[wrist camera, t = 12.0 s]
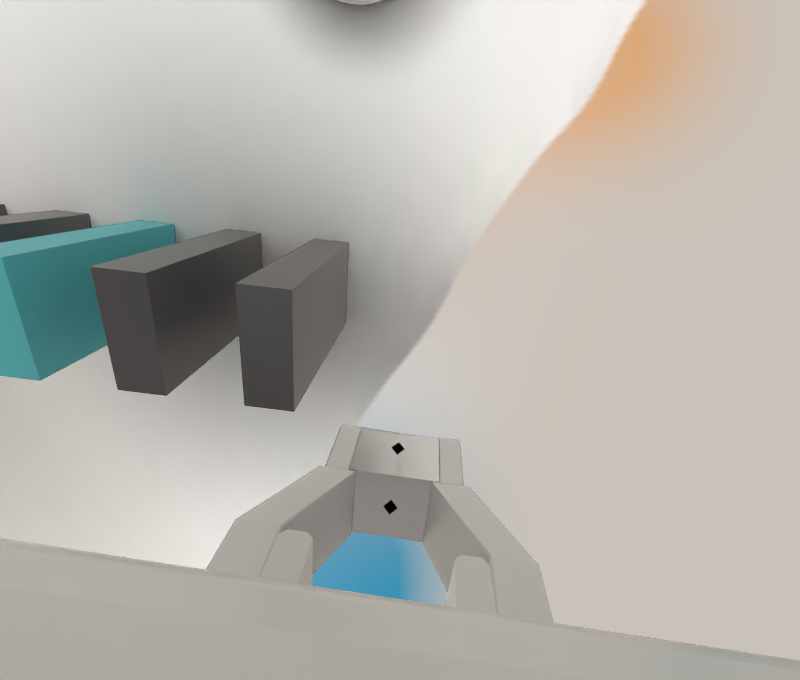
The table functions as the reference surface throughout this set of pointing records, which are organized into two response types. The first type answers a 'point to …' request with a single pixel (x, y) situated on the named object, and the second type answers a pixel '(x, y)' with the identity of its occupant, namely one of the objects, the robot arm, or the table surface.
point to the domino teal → (61, 293)
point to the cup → (359, 1)
